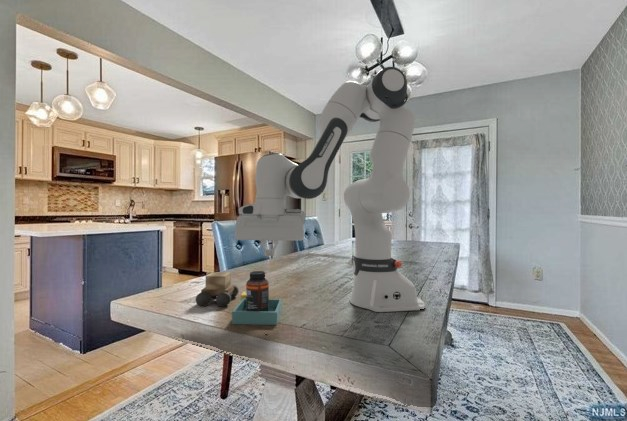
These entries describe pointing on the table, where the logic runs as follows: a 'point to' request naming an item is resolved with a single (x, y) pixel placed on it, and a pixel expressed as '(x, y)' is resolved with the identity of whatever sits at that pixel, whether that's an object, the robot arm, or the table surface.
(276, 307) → the tray
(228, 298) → the trolley
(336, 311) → the table surface
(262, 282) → the supplement bottle
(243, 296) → the yellow cube
